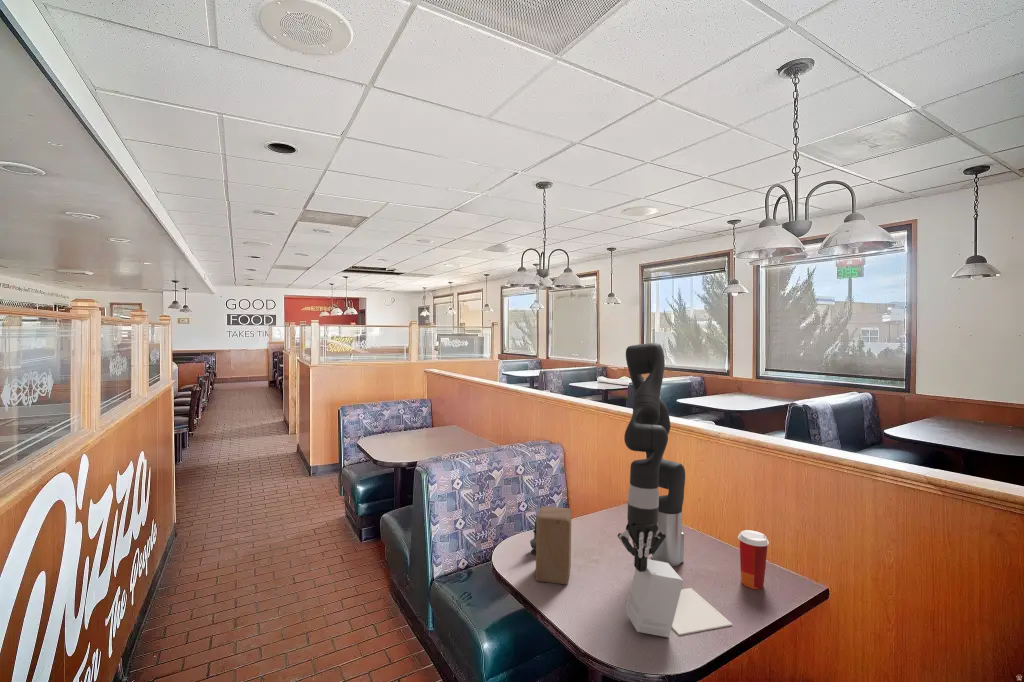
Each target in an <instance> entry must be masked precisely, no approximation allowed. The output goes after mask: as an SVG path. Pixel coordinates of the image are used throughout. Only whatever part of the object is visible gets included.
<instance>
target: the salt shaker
mask: <svg viewBox="0 0 1024 682" xmlns="http://www.w3.org/2000/svg"><path fill="white" fill-rule="evenodd" d="M536 524H537V520H535V521H534V528H533V535H534V536H533V538H532V539H530V540H529V544H530V546H531V548H532V549H531V550H530V554H531V555H533V556H534V557H536Z"/></svg>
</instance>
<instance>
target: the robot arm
mask: <svg viewBox="0 0 1024 682" xmlns="http://www.w3.org/2000/svg"><path fill="white" fill-rule="evenodd" d="M625 360H626V365H627V369H628V370H627V371H628V373H629V376H630V379H631V383H632V387H633V391H634V396H633V402H632V415H631V418H630V420H629V422H628V424H627V426H626V429H625V432H624V436H623V437H624V444H625V446H626V448H628V449H629V450H630V451H632V452H633V451H634V452H641V453H645V454H646V455H645V456H646V457H645V458H643V459H636V460H633V461H631V464H630V469H629V470H630V472H629V474H630V475H629V487H628V493H627V498H628V499H627V524H626V526H625V530H624V531H623V532H622V533H620V532H619V533H618V534H617V537H618V539H619V540H620V542H621V543H622V545H623V546H624V547H625V549H626V550H627V552H629V553H630V554H631V555H632V556H633V557H634V562H633V565H634V568H635V569H637V570H638V571H639V572H644V571H645V569H646V568H647V559H648V557H649V555H651V558H652V559H651V560H655V561H661V562H666V563H669V565H670V566H671V567H677V566H679V565H681V563H684V561H685V560H684V559H685V557H684V556H685V554H684V553H685V533H684V532H683V529H682V527H683V525H682V524H683V505H684V499H685V485H686V484H685V483H686V469H685V466H684V465H683V464H682V463H680V462H677V461H673V460H668V459H664V457H663V456H664V454H665V451H666V448H667V445H668V441H669V433H670V431H671V419H670V414H669V409H668V407H667V405H666V403H665V402H664V401H663V400H662V399H661V398H660V396H661V390H662V385H663V381H664V380H663V379H664V375H665V374H664V373H665V353H664V349H663V347H662V345H661V344H660V343H658V342H651V343H650V342H647V343H641V344H633V345H629V346H627V347H626V349H625ZM643 375H648V376H647V377H646V379H644V377H643ZM659 488H660V489H666V490H668V494H665V495H664V494H663V495H660V493H659V492H660V491H659ZM630 539H631V541H632V544H631V542H630Z"/></svg>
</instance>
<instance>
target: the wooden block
mask: <svg viewBox="0 0 1024 682" xmlns="http://www.w3.org/2000/svg"><path fill="white" fill-rule="evenodd" d="M572 512H573V511H572V510H571V508H569V507H559V506H558V507H557V506H548V505H547V506H546V505H542V506H540V508H539V511H538V514H537V516H536V521H537V524H536V556H535V578H536V579H535V580H536V581H537V582H541V583H542V582H544V583H552V584H559V585H568V584H569V581H570V574H571V567H572V519H573V518H572V516H573V515H572Z"/></svg>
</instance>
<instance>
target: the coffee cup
mask: <svg viewBox="0 0 1024 682" xmlns="http://www.w3.org/2000/svg"><path fill="white" fill-rule="evenodd" d="M737 539H738V540H739V560H740V561H739V563H740V581H741V584H742V585H743V586H745V587H746V588H749V589H752V590H762V589H763V588H764V585H765V575H766V567H767V553H768V546H769V544H770V542H769V540H768V538H767V536H766V535H765V534H764V533H762V532H759V531H756V530H751V529H749V530H748V529H745V530H741V531H740V532H739V534H738V536H737Z"/></svg>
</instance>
